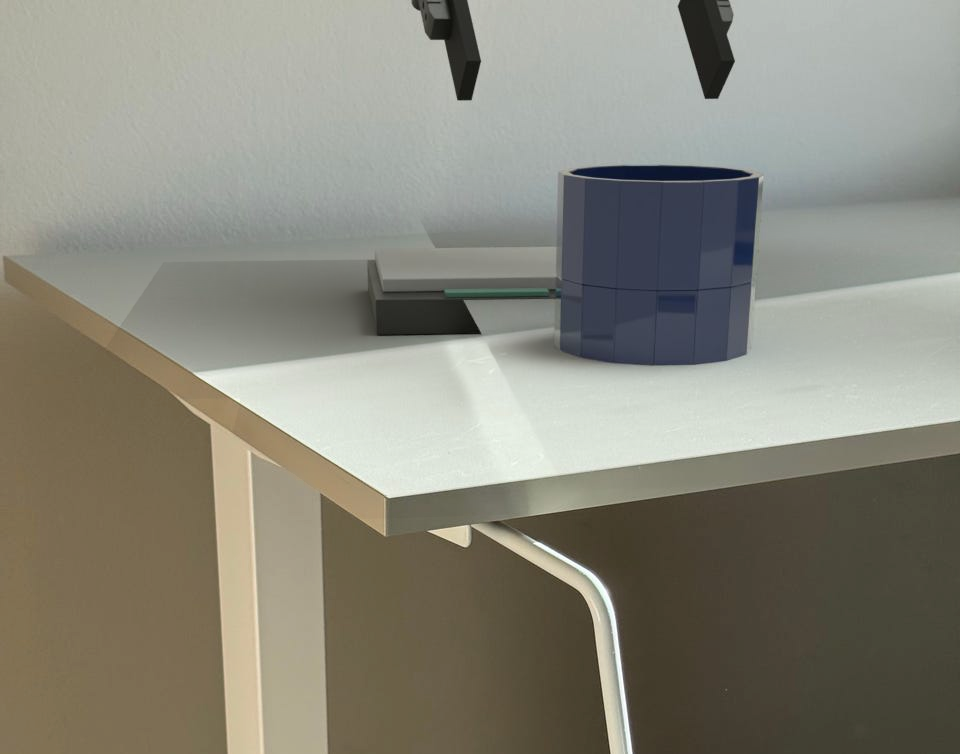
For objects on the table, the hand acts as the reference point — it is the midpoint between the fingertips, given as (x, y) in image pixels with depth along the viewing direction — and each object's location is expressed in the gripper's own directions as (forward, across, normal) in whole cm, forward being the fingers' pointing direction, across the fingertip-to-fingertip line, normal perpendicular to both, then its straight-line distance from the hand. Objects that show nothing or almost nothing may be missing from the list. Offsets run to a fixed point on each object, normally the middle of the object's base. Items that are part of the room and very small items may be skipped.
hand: (597, 81), depth 76 cm
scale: (0, +2, -19) cm, 19 cm away
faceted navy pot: (+16, 0, -3) cm, 17 cm away
